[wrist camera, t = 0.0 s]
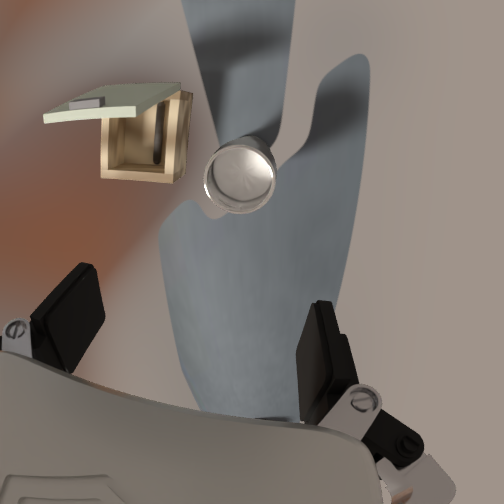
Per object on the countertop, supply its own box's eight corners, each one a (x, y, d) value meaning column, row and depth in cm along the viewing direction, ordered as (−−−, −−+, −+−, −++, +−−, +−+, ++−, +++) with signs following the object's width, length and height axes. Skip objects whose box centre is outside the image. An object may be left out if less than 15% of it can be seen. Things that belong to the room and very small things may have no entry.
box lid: (103, 93, 29) (102, 80, 27) (180, 90, 29) (180, 76, 28) (44, 123, 20) (42, 107, 19) (135, 117, 20) (135, 96, 19)
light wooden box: (124, 93, 34) (103, 93, 29) (193, 93, 34) (180, 90, 29) (120, 168, 40) (101, 177, 34) (185, 173, 40) (172, 183, 34)
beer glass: (231, 184, 40) (212, 223, 27) (219, 139, 37) (192, 153, 24) (279, 174, 39) (284, 208, 26) (268, 127, 36) (268, 134, 23)
